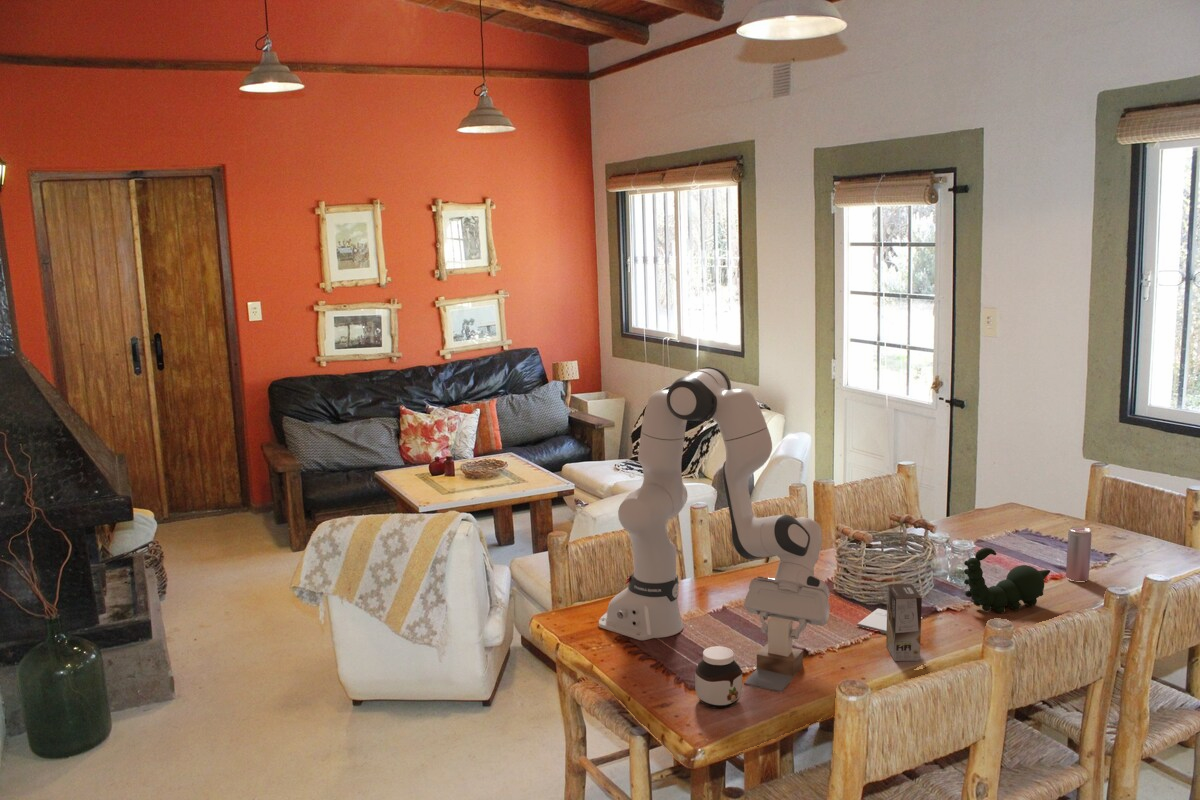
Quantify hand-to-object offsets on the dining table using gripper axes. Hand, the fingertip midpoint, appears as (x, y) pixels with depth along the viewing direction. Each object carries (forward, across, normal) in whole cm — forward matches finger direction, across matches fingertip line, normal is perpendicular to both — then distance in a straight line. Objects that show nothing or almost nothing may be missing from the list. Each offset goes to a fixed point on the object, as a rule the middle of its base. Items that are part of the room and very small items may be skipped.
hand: (779, 635), depth 240 cm
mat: (+11, 0, +1) cm, 11 cm away
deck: (+6, 0, +6) cm, 9 cm away
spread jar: (+20, -8, -7) cm, 22 cm away
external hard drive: (-20, +15, +33) cm, 41 cm away
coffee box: (-9, +24, +21) cm, 33 cm away
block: (+3, 0, +4) cm, 5 cm away
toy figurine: (-37, +42, +49) cm, 75 cm away
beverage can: (-58, +57, +70) cm, 107 cm away
